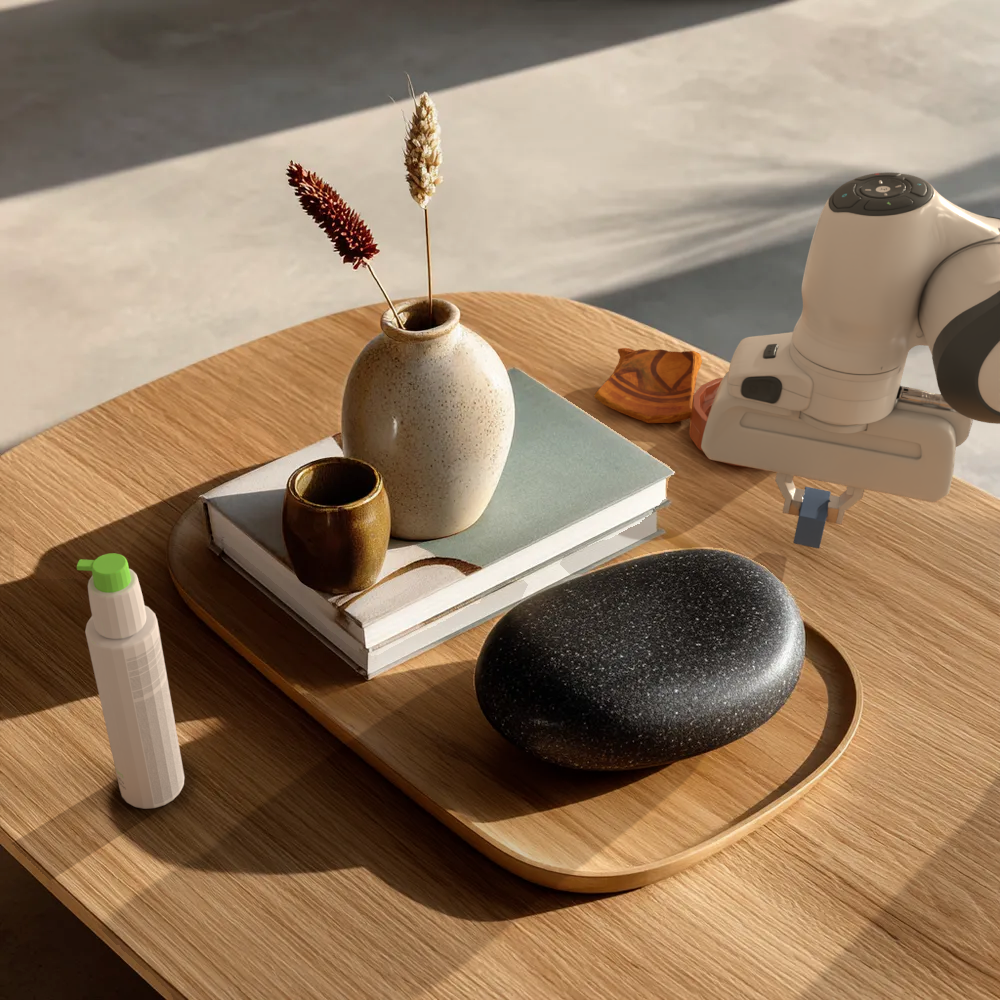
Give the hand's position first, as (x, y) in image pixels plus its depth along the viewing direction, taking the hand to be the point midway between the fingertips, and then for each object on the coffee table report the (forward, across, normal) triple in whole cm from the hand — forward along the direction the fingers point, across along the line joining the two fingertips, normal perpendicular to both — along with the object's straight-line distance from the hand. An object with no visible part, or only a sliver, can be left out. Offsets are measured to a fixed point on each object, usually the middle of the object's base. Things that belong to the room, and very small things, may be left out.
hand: (812, 514), depth 113 cm
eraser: (+2, 0, 0) cm, 2 cm away
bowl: (+3, +8, -14) cm, 16 cm away
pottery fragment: (+3, +18, -18) cm, 26 cm away
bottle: (+3, +40, +42) cm, 58 cm away
